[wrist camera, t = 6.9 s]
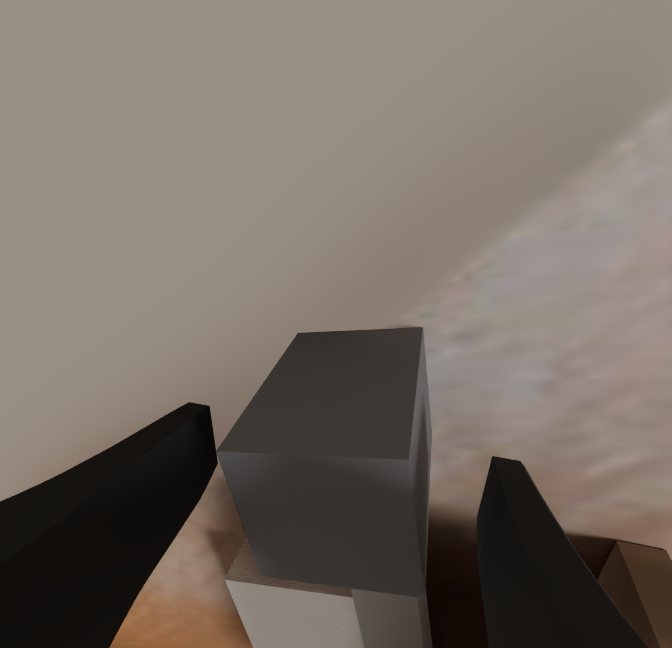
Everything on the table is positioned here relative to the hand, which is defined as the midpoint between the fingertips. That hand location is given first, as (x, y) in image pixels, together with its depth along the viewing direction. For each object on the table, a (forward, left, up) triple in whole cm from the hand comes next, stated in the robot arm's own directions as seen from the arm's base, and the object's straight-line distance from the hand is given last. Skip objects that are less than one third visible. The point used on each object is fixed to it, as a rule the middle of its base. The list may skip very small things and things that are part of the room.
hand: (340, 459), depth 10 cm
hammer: (-7, -1, -4) cm, 8 cm away
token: (-12, +2, -4) cm, 13 cm away
